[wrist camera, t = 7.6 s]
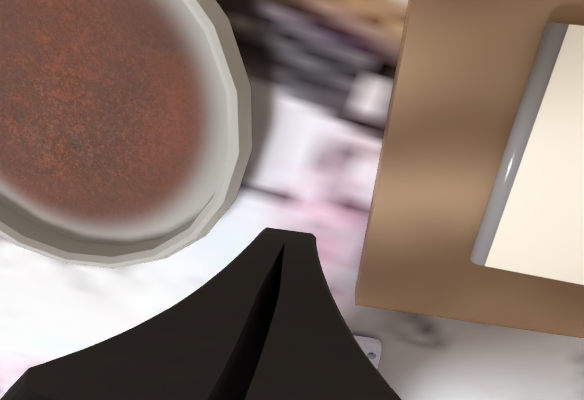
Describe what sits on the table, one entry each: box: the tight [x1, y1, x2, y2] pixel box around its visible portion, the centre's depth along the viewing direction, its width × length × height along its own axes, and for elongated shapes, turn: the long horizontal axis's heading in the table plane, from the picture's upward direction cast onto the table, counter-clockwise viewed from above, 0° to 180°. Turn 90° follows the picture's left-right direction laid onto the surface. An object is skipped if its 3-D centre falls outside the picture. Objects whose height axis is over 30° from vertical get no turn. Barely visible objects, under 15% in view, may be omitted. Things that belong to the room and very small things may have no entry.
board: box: [355, 0, 584, 338], centre depth 18 cm, size 18×16×1 cm
